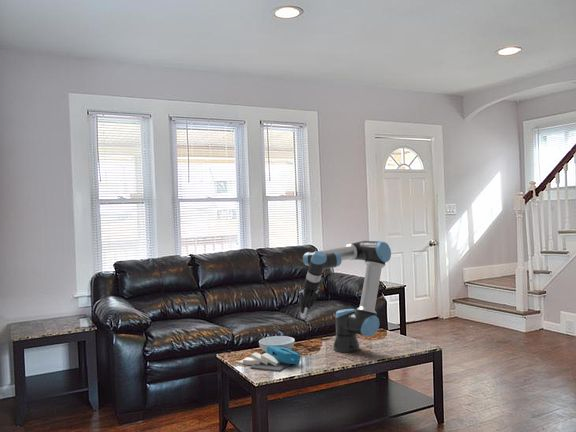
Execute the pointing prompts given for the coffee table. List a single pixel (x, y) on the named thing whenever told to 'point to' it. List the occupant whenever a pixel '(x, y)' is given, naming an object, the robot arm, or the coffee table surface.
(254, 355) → the domino
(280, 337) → the serving bowl
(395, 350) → the coffee table surface
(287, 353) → the block
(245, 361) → the domino
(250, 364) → the domino
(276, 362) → the domino
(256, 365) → the domino mat
